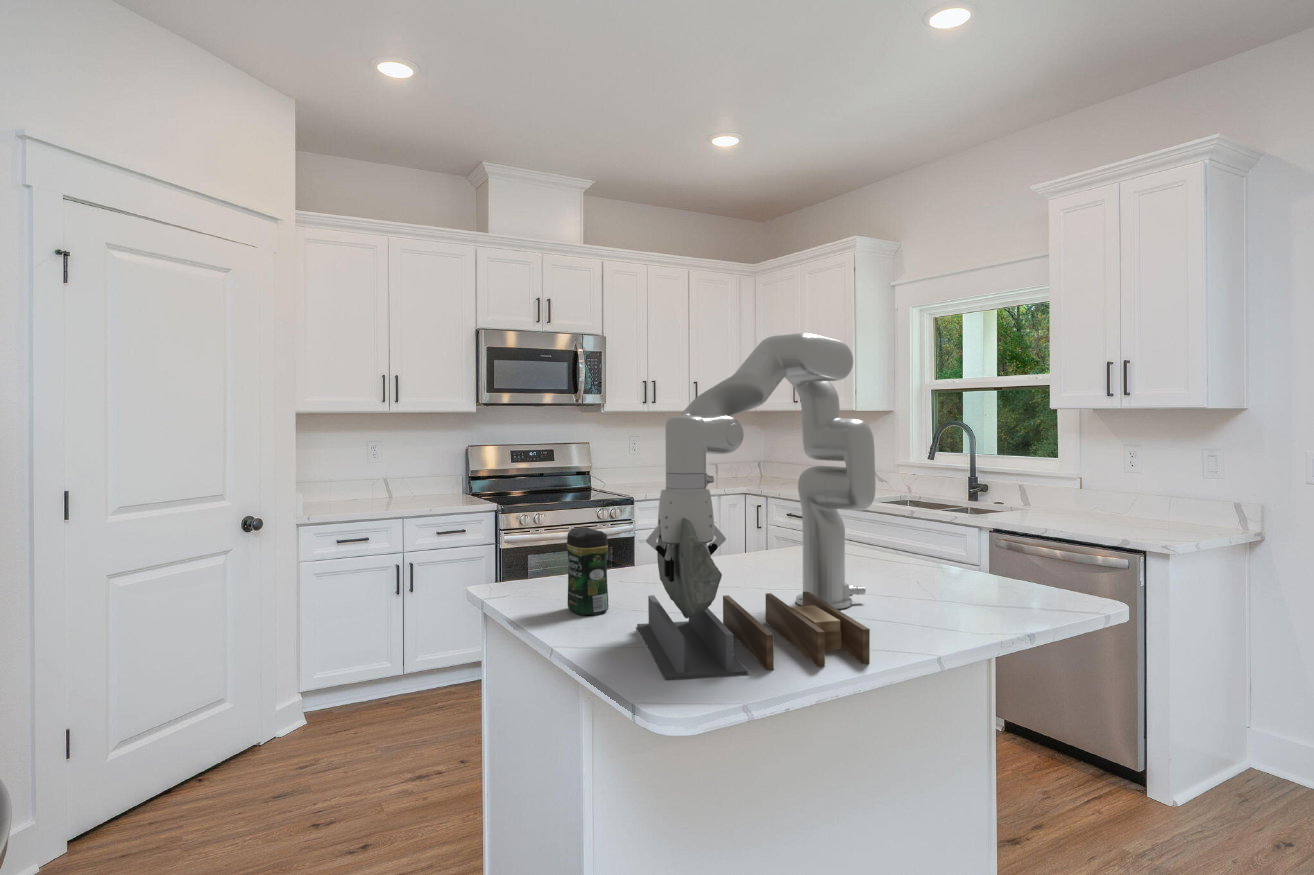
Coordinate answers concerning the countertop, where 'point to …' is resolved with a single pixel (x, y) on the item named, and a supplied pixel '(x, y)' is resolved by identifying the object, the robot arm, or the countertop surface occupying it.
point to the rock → (690, 574)
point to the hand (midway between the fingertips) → (686, 578)
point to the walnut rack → (793, 630)
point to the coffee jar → (587, 571)
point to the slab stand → (689, 645)
